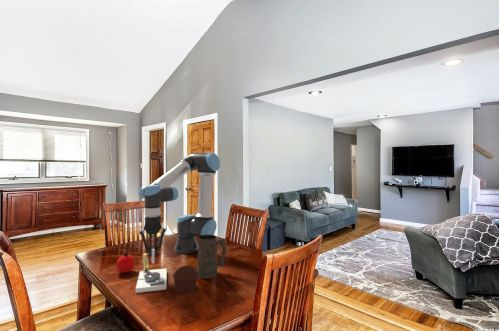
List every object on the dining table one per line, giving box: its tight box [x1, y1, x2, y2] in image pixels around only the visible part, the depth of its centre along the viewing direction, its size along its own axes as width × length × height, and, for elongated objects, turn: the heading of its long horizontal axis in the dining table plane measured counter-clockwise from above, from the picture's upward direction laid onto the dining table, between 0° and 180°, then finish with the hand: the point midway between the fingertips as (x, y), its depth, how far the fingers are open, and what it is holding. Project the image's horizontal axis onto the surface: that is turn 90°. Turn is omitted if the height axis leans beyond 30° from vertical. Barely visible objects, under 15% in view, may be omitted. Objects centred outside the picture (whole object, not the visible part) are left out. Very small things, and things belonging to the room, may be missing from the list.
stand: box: [135, 268, 168, 294], centre depth 130 cm, size 13×20×4 cm, turn 17°
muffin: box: [172, 265, 199, 295], centre depth 123 cm, size 12×11×10 cm
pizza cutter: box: [142, 252, 160, 282], centre depth 130 cm, size 13×7×10 cm, turn 44°
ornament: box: [116, 252, 136, 274], centre depth 141 cm, size 9×9×10 cm
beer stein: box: [196, 234, 228, 279], centre depth 140 cm, size 15×11×20 cm
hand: (153, 262), depth 135 cm, fingers closed
